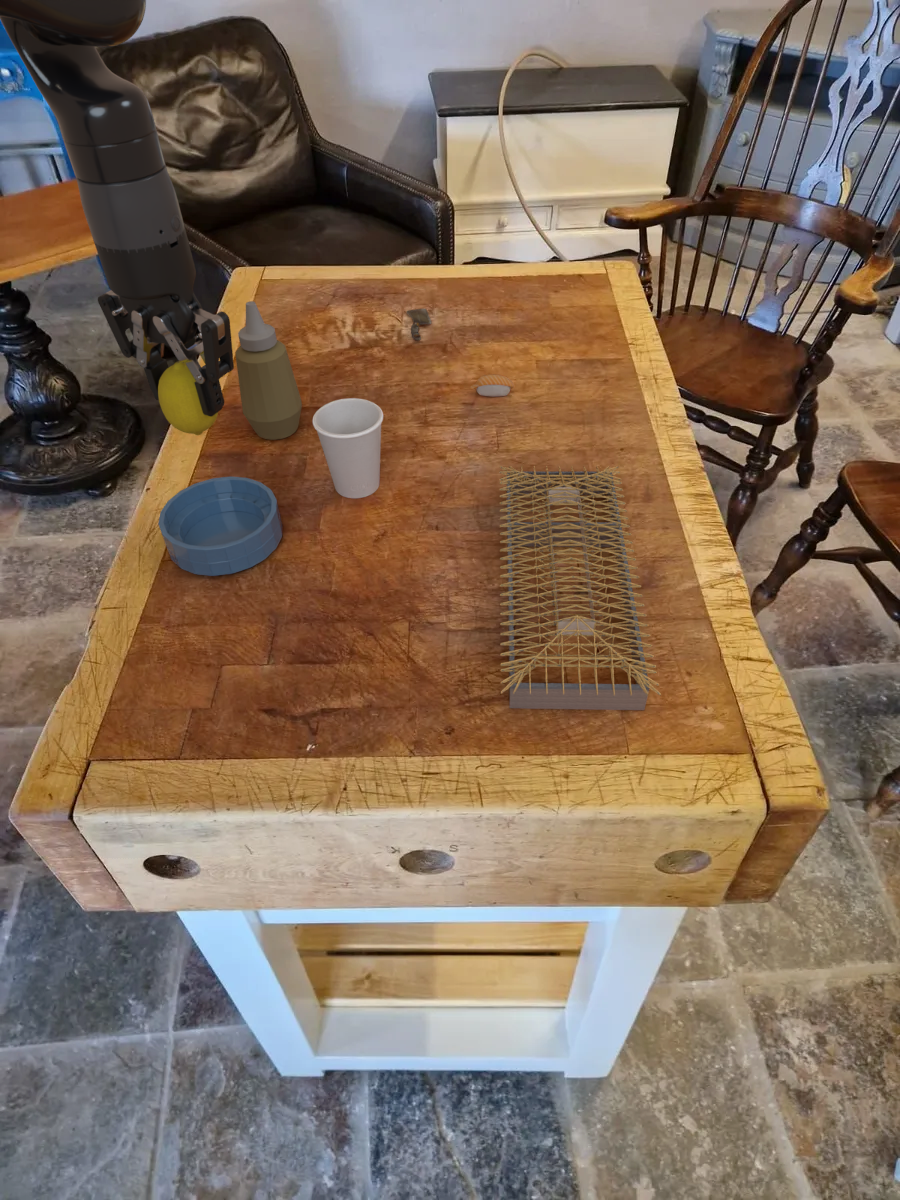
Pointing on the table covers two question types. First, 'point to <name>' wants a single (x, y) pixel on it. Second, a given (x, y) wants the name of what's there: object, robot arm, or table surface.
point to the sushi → (493, 385)
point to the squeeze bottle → (266, 379)
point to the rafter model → (572, 534)
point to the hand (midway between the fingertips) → (189, 404)
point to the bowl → (221, 525)
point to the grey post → (418, 321)
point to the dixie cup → (351, 444)
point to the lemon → (182, 400)
